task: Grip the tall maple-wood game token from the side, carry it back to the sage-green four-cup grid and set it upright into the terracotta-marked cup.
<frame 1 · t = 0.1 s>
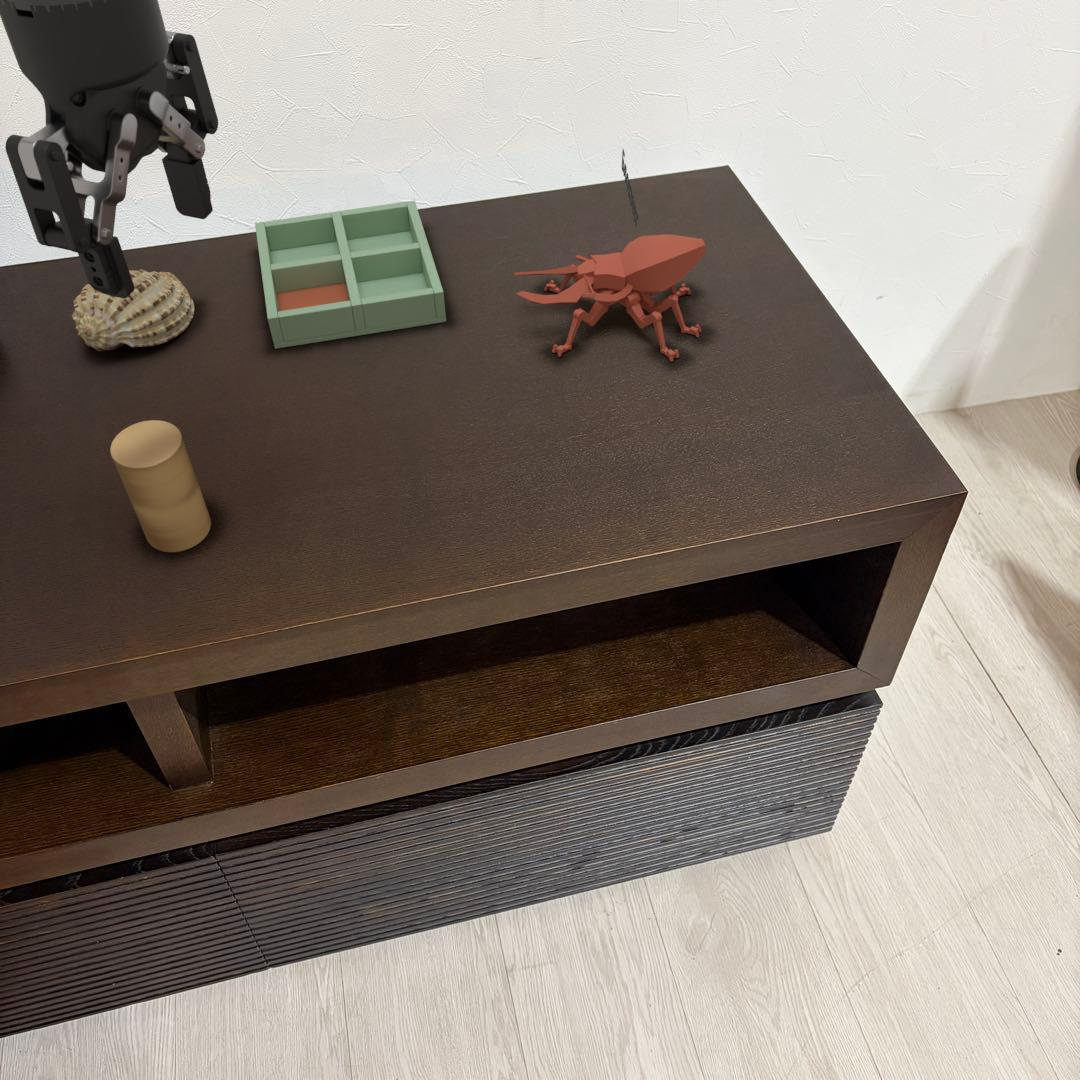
hand: (157, 252, 65), 18 cm above the table, tool pointing down, fingers open, 8 cm apart
beetle: (607, 319, 90), on the table
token: (178, 528, 75), on the table
seashell: (142, 329, 90), on the table
grid: (350, 285, 94), on the table
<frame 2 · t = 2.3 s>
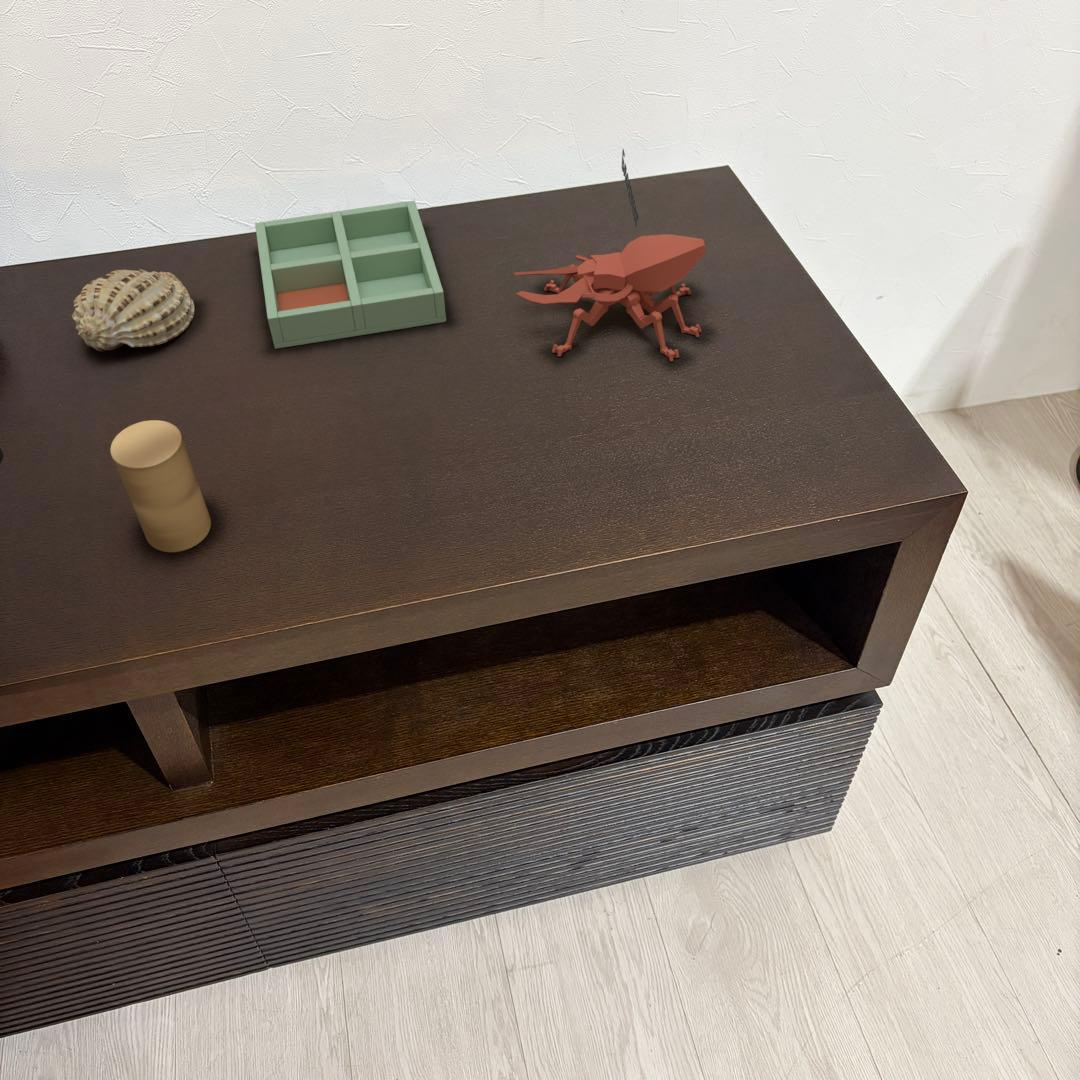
nothing on the table moved.
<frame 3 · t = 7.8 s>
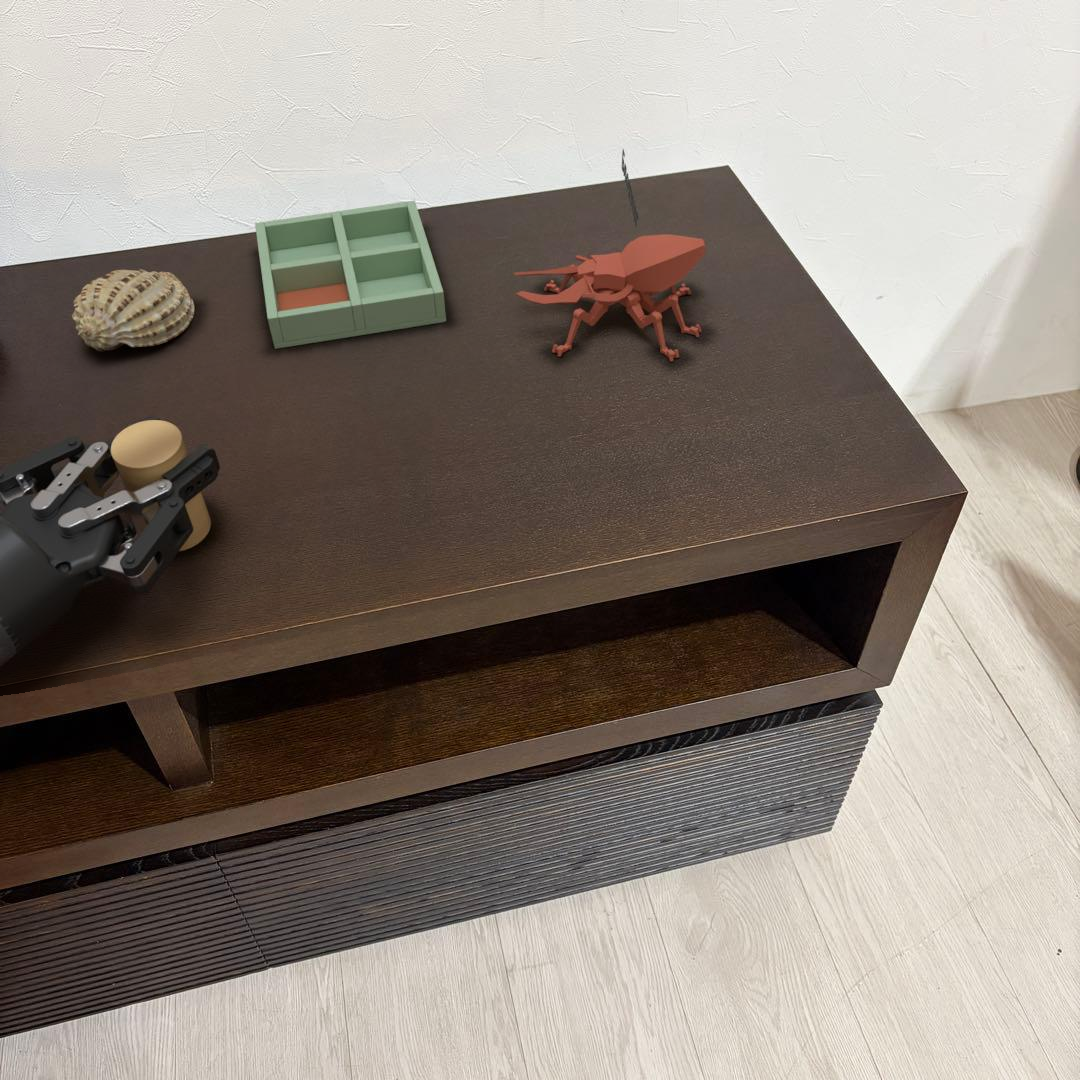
hand: (185, 441, 72), 6 cm above the table, tool horizontal, fingers closed on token, 4 cm apart
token: (178, 528, 75), on the table, touching gripper
everything else where it was.
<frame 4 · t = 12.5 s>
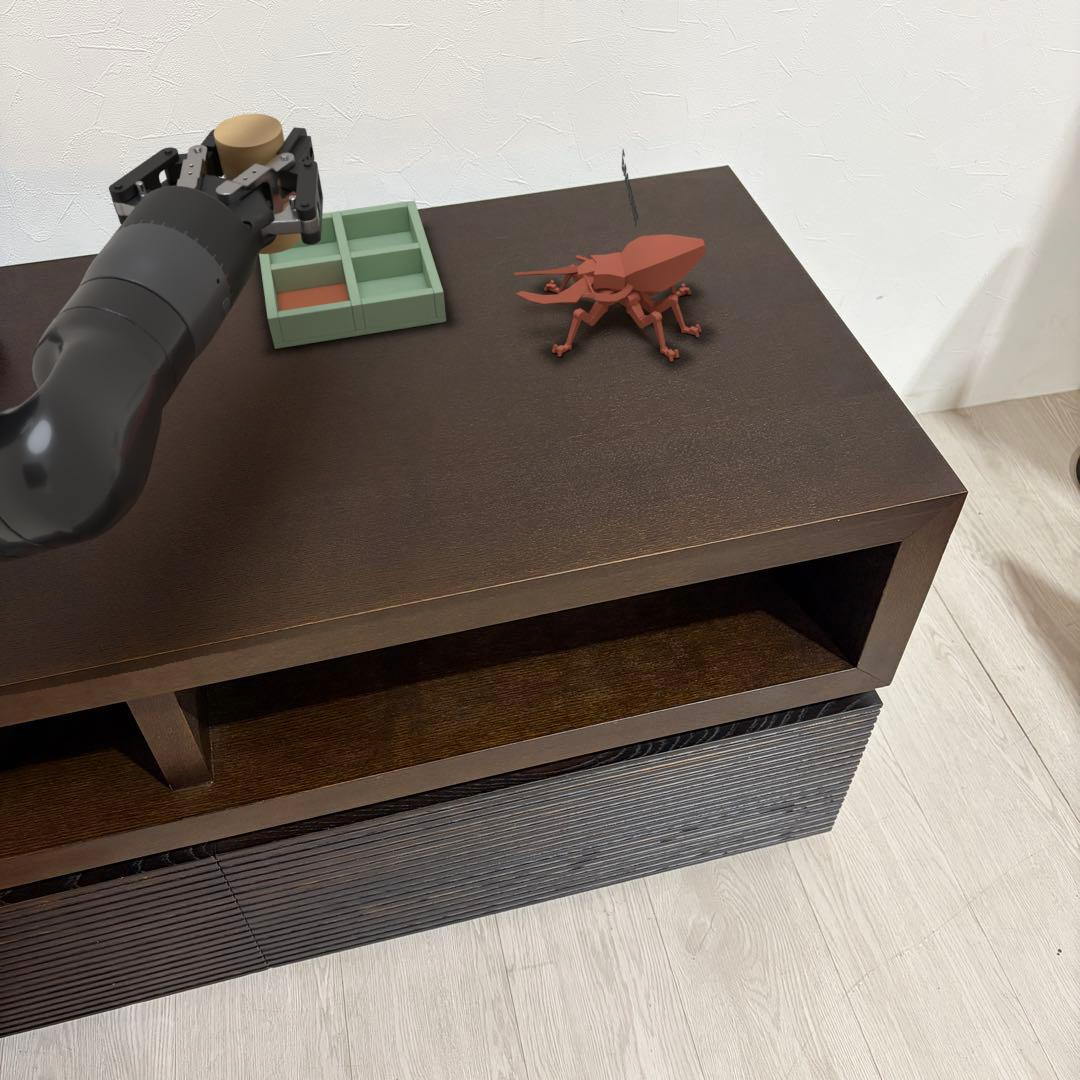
hand: (267, 137, 75), 18 cm above the table, tool horizontal, fingers closed on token, 4 cm apart
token: (270, 236, 77), point 12 cm above the table, touching gripper
everything else where it was.
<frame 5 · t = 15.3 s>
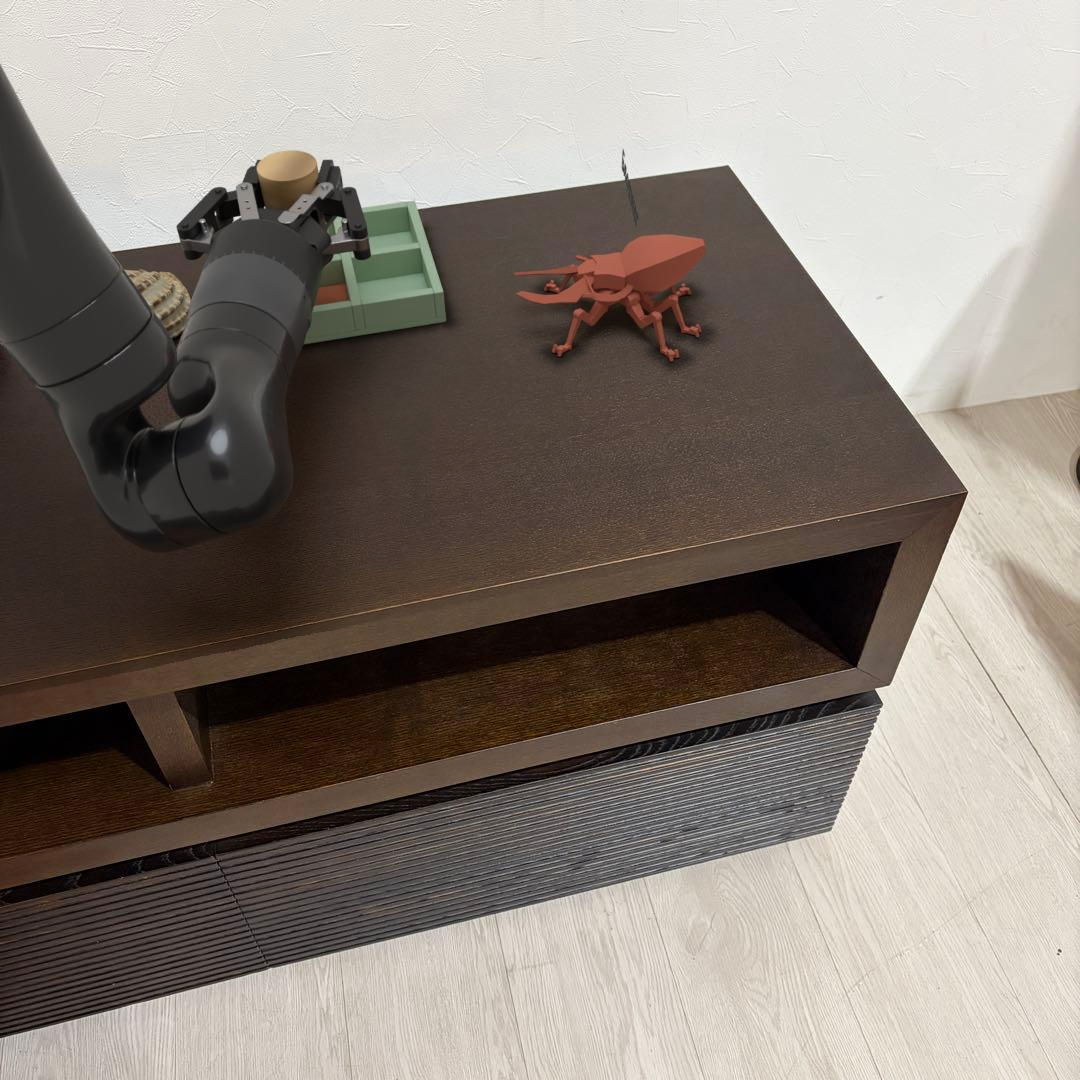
hand: (297, 171, 84), 12 cm above the table, tool horizontal, fingers closed on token, 4 cm apart
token: (305, 258, 87), point 6 cm above the table, touching gripper
everything else where it was.
when the fingers open (7 cm above the table, at t = 17.1 s): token stays where it is, resting on grid.
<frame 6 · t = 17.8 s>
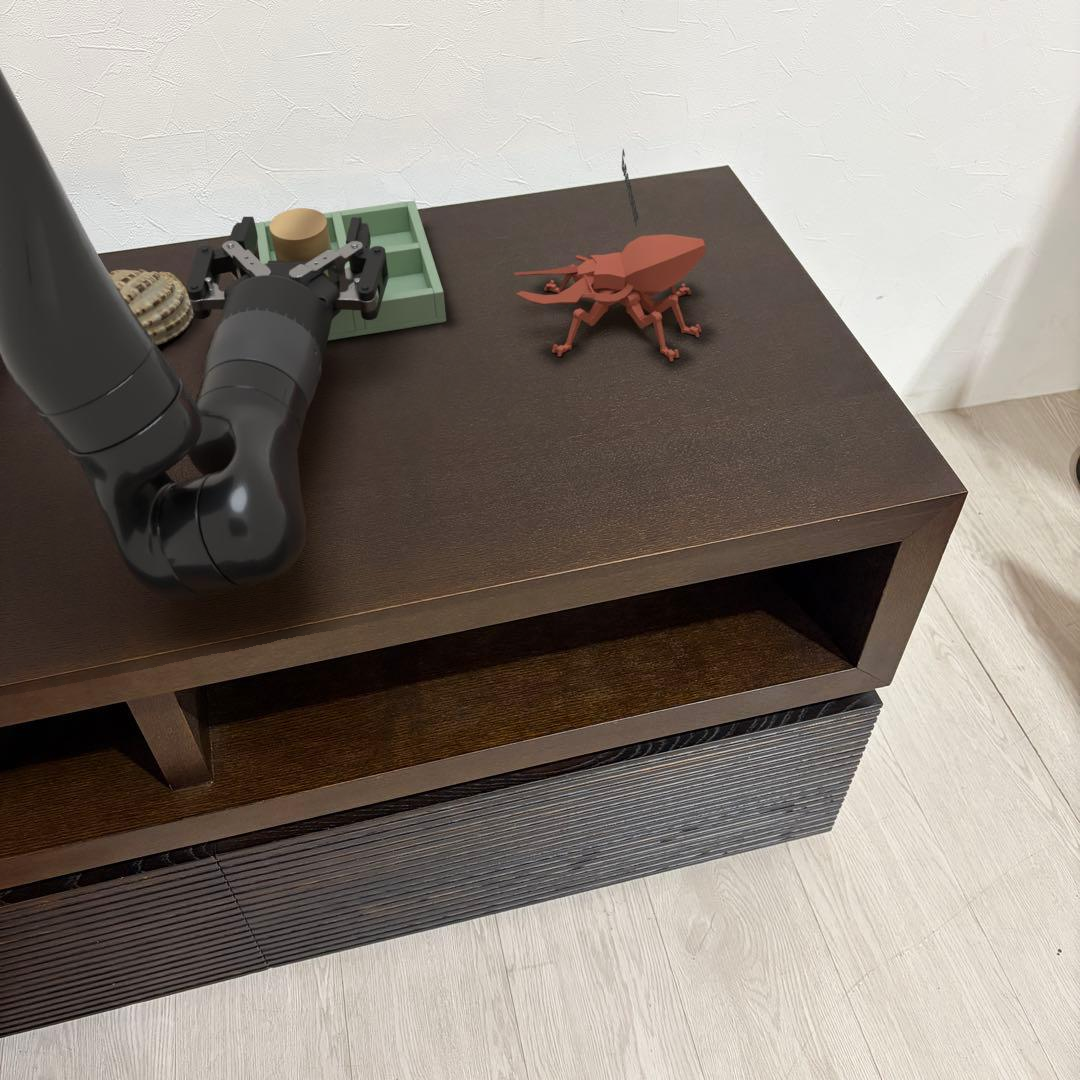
hand: (304, 226, 87), 7 cm above the table, tool horizontal, fingers open, 8 cm apart
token: (315, 308, 90), point 1 cm above the table, touching grid
everything else where it was.
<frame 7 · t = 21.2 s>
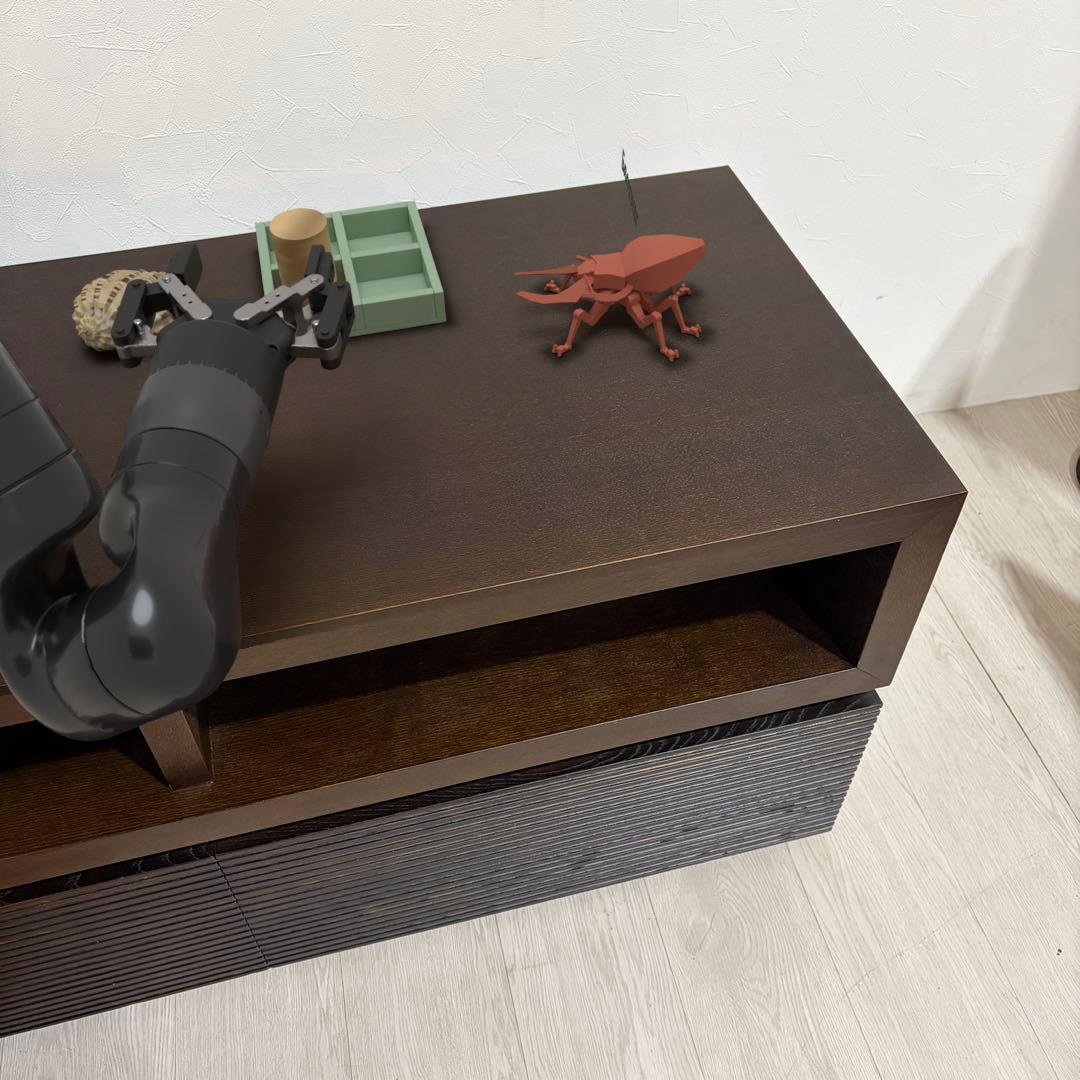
hand: (257, 255, 74), 13 cm above the table, tool horizontal, fingers open, 8 cm apart
nothing on the table moved.
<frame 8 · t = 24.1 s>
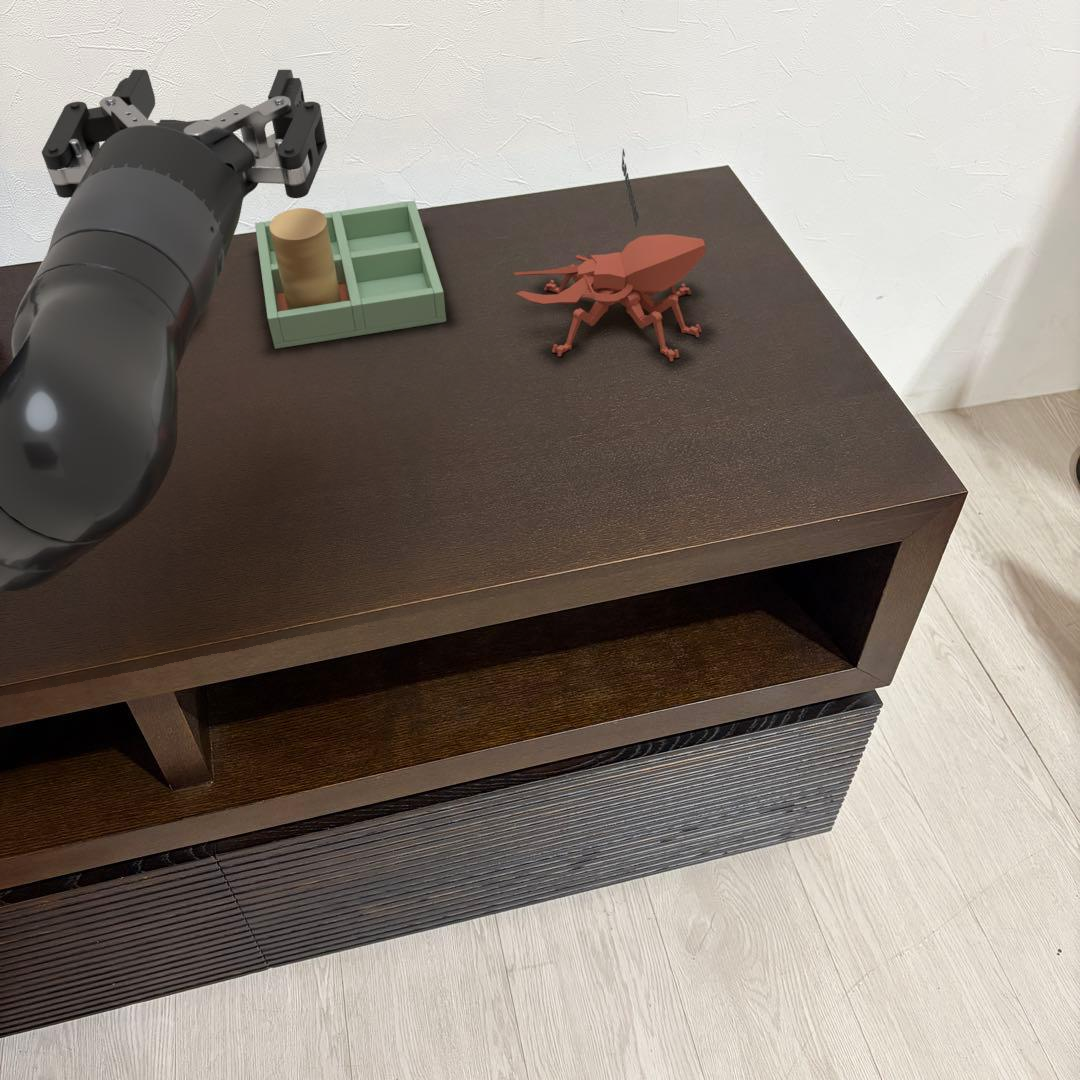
hand: (216, 84, 65), 25 cm above the table, tool horizontal, fingers open, 8 cm apart
nothing on the table moved.
at the end: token 0.1 cm from the target spot in the grid, point 0.7 cm above the grid's base; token tilted 0°; the gripper is holding nothing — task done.
